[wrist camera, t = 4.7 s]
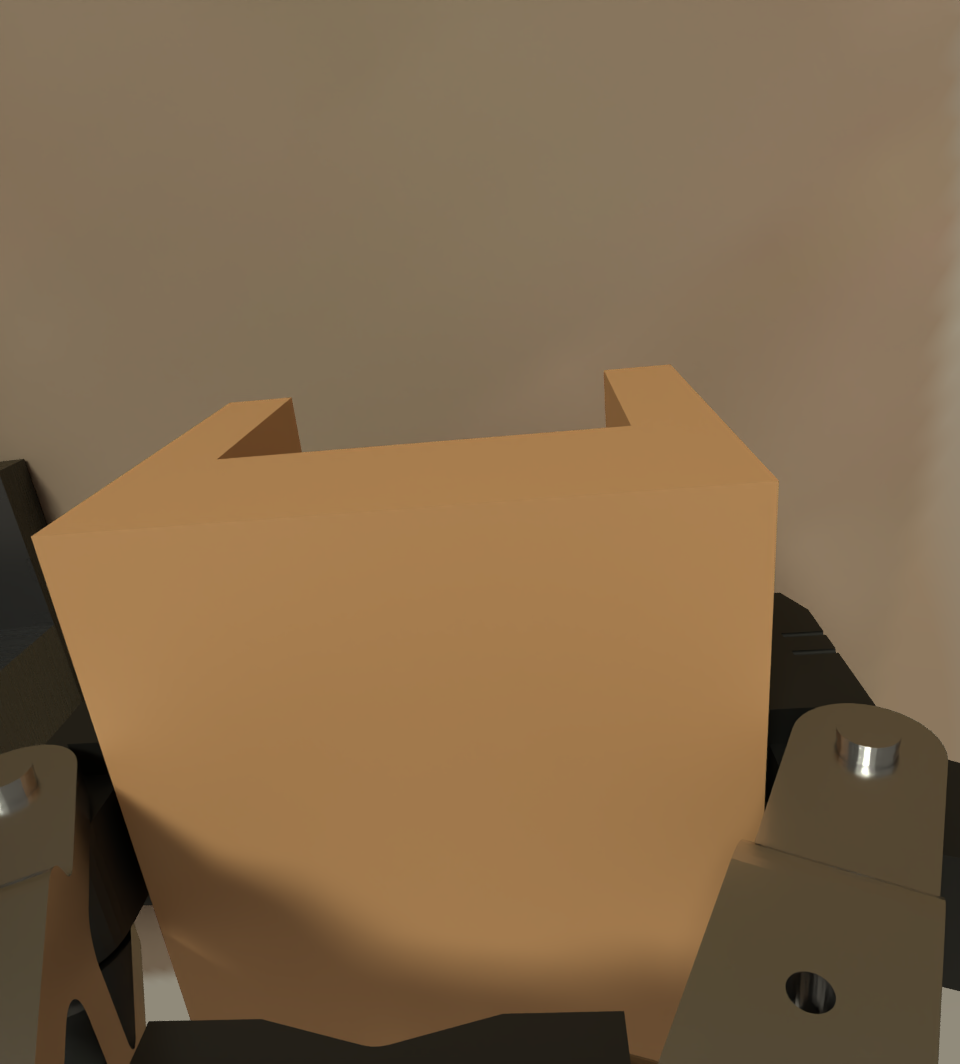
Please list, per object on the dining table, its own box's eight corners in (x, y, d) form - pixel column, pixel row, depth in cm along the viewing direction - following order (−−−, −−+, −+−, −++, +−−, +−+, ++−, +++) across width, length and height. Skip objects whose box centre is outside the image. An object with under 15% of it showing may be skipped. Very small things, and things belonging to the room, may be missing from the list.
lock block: (673, 779, 14) (752, 1078, 9) (314, 796, 14) (212, 1087, 9) (670, 364, 11) (779, 481, 6) (230, 402, 11) (30, 536, 7)
